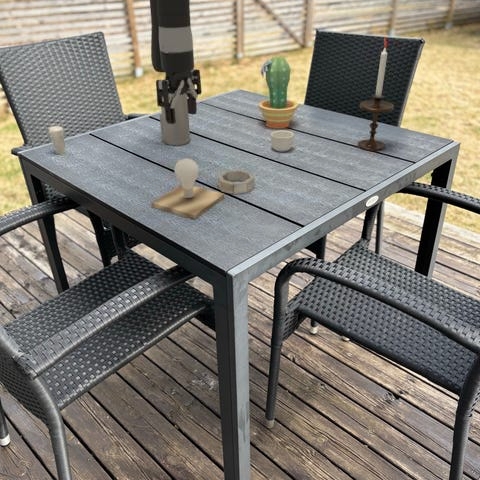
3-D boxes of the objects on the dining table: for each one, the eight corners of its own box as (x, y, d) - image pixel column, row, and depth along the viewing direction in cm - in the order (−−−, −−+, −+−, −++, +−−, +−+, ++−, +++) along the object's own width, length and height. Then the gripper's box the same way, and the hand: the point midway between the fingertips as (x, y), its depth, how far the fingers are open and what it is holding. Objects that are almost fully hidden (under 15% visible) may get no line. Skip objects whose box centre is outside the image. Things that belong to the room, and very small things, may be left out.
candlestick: (348, 143, 162) (361, 35, 144) (374, 139, 166) (389, 33, 147) (367, 154, 154) (383, 40, 135) (394, 149, 157) (413, 37, 139)
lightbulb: (204, 194, 126) (202, 156, 121) (193, 204, 122) (190, 165, 116) (184, 191, 129) (181, 153, 123) (172, 200, 124) (168, 161, 118)
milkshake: (72, 151, 159) (66, 123, 154) (58, 156, 156) (51, 127, 150) (65, 148, 162) (59, 120, 156) (51, 152, 158) (44, 124, 153)
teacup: (290, 154, 154) (291, 138, 152) (268, 152, 156) (268, 136, 154) (296, 144, 163) (296, 129, 160) (274, 142, 164) (275, 127, 162)
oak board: (151, 206, 124) (151, 202, 123) (183, 187, 134) (183, 183, 133) (194, 219, 117) (194, 215, 117) (224, 197, 128) (224, 193, 127)
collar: (212, 189, 132) (212, 179, 131) (230, 176, 140) (230, 167, 138) (242, 196, 128) (242, 186, 126) (259, 183, 135) (259, 173, 134)
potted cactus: (271, 116, 190) (273, 51, 177) (304, 123, 183) (308, 55, 169) (250, 126, 180) (250, 58, 167) (284, 133, 172) (287, 63, 159)
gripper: (182, 42, 112) (186, 109, 120) (142, 51, 101) (151, 124, 110) (207, 44, 108) (211, 113, 117) (170, 54, 98) (176, 129, 107)
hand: (182, 118), depth 113 cm, fingers open, 8 cm apart
